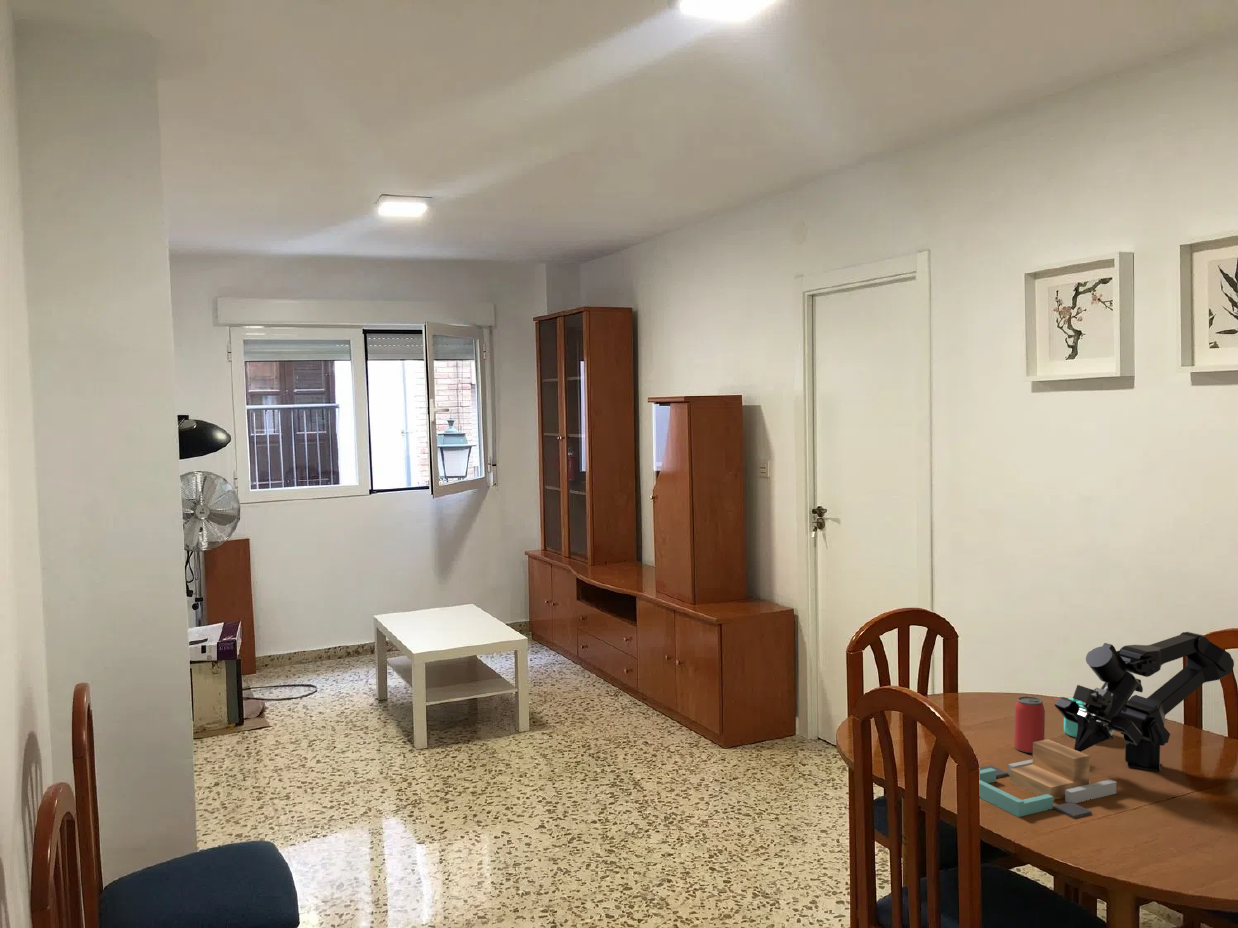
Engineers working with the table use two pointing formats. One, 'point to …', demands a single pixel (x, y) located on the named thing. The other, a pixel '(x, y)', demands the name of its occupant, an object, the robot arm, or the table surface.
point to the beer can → (1028, 723)
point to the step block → (1052, 770)
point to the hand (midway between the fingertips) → (1076, 750)
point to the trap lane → (1039, 802)
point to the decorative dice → (1070, 726)
